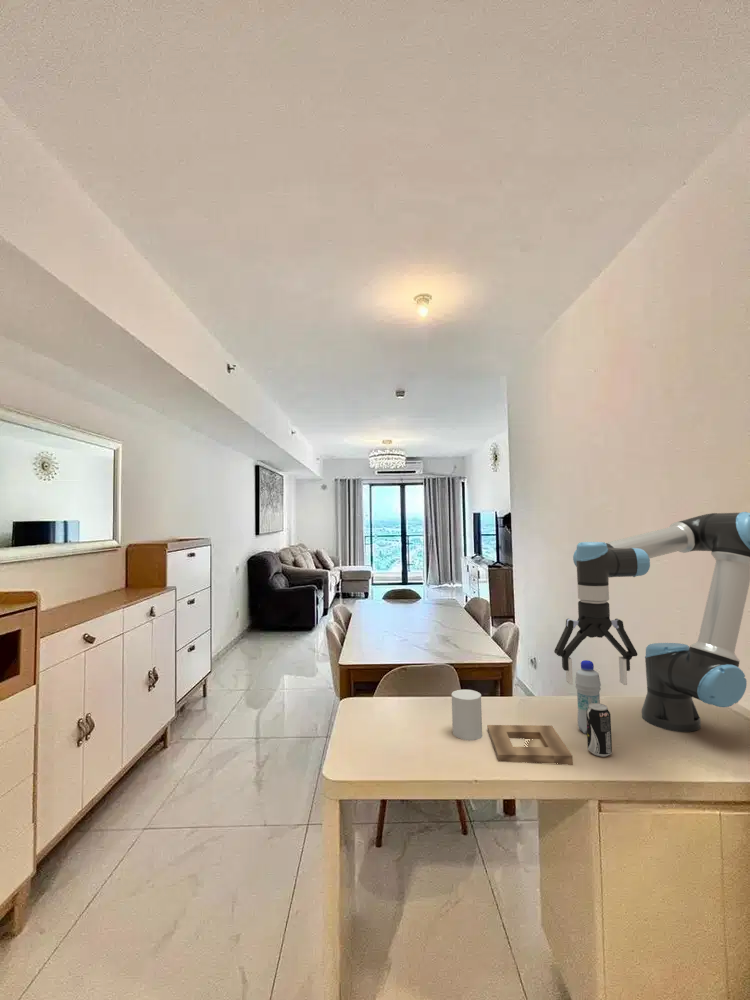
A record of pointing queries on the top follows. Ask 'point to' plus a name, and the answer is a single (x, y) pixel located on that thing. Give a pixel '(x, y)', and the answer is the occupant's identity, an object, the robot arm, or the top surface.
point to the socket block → (529, 744)
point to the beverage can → (599, 729)
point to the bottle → (586, 691)
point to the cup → (466, 714)
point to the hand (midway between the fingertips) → (596, 683)
